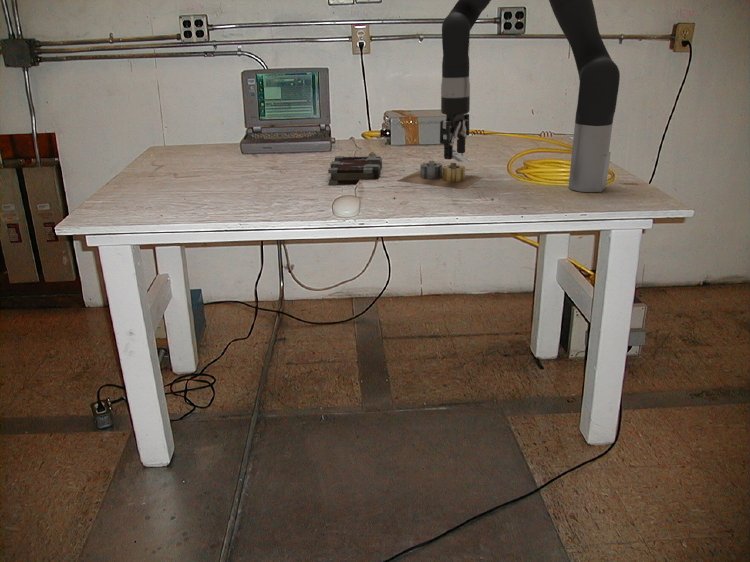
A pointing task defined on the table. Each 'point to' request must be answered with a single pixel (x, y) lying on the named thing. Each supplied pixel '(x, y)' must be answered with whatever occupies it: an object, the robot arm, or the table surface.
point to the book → (354, 169)
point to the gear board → (439, 182)
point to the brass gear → (453, 173)
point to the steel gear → (431, 171)
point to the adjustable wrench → (459, 157)
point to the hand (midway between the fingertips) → (454, 155)
